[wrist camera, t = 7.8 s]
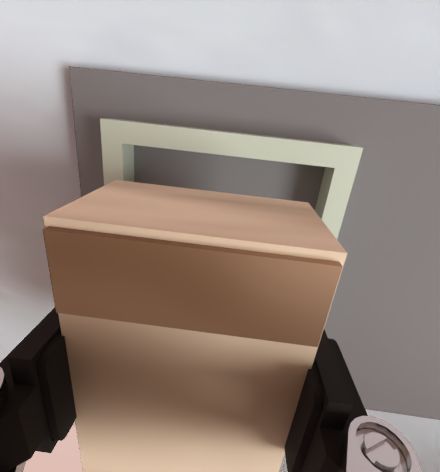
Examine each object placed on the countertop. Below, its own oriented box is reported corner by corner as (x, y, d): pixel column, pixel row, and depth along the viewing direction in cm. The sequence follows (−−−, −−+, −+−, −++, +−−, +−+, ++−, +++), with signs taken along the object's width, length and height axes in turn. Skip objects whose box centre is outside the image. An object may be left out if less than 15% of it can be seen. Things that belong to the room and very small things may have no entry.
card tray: (114, 118, 11) (100, 118, 10) (351, 145, 11) (363, 147, 10) (123, 352, 16) (115, 368, 15) (289, 375, 16) (292, 394, 15)
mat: (759, 140, 10) (788, 141, 10) (530, 424, 17) (540, 434, 16) (77, 69, 11) (68, 66, 11) (102, 361, 18) (97, 369, 17)
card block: (261, 402, 12) (269, 513, 9) (125, 383, 12) (80, 485, 9) (308, 202, 9) (350, 258, 5) (115, 179, 9) (36, 219, 5)
